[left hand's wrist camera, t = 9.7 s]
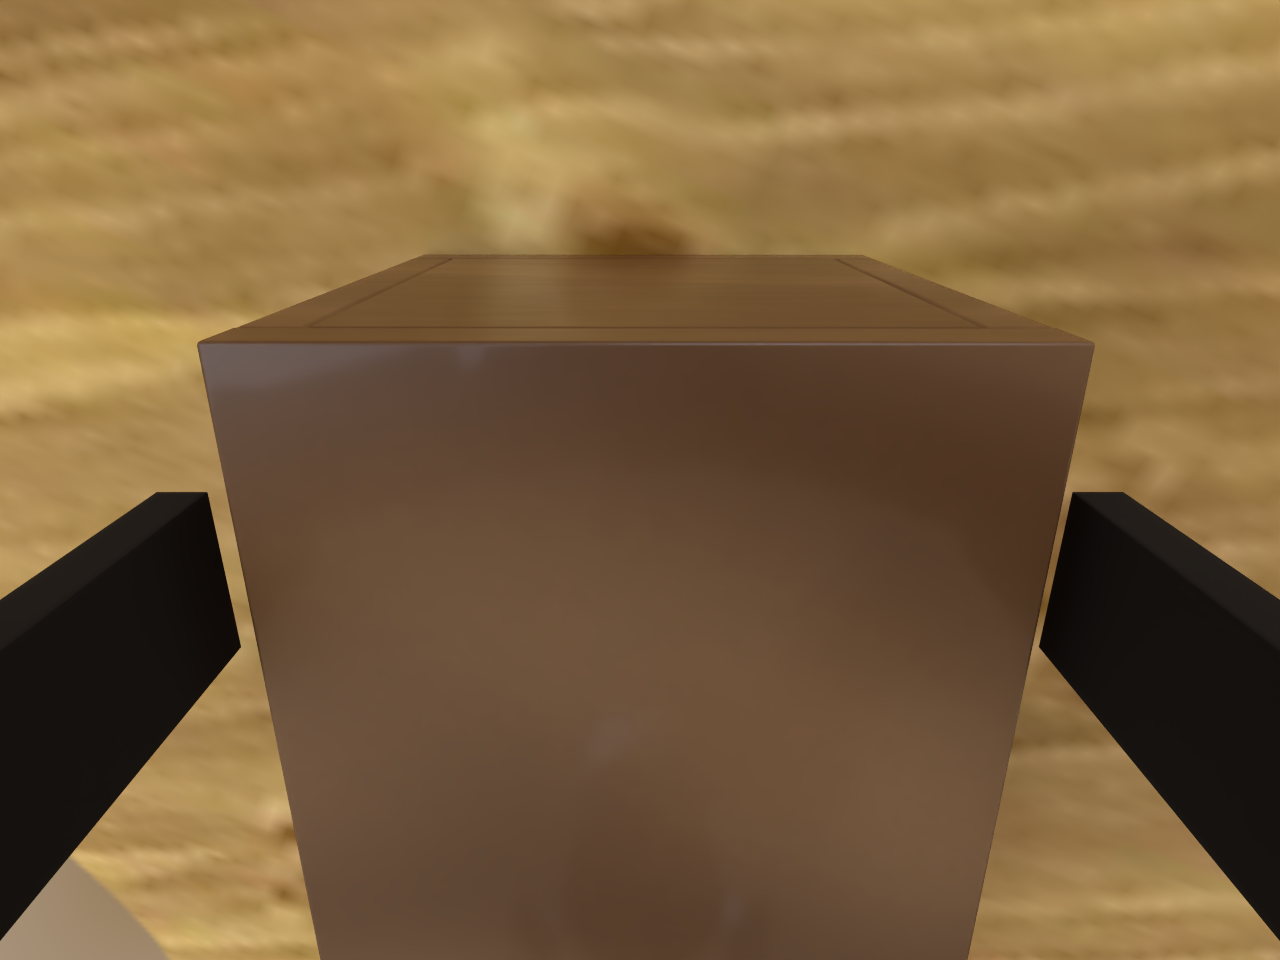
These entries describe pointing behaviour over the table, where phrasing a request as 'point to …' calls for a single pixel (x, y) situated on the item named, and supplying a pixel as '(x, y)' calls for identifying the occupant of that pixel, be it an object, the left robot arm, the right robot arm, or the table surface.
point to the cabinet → (644, 598)
